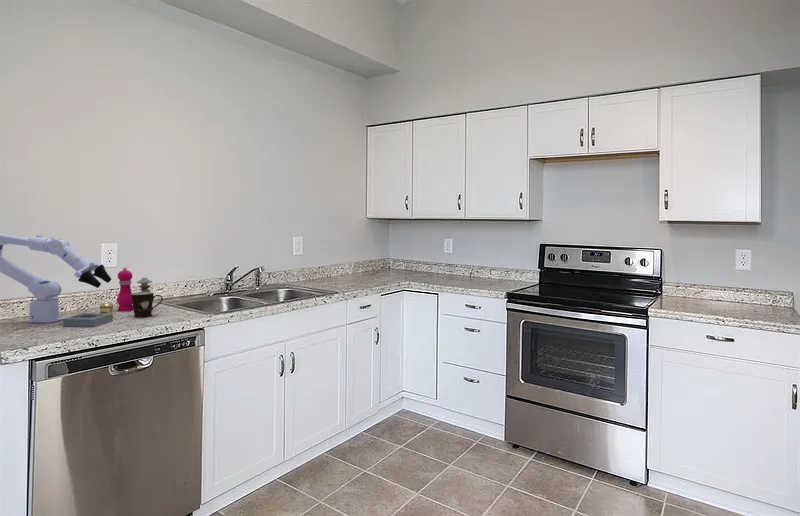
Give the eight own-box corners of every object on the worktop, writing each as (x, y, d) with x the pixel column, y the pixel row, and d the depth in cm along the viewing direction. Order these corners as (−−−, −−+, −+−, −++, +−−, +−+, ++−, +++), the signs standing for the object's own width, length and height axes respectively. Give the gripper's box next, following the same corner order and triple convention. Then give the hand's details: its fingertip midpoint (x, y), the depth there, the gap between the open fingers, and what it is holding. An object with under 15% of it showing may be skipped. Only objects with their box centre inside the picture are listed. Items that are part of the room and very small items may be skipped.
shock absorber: (147, 308, 229) (146, 276, 228) (155, 309, 226) (155, 277, 225) (134, 310, 223) (133, 278, 222) (143, 311, 220) (142, 279, 219)
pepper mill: (130, 307, 230) (129, 265, 228) (137, 309, 225) (136, 267, 224) (114, 309, 224) (113, 266, 223) (120, 311, 220) (119, 267, 218)
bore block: (63, 326, 188) (63, 318, 188) (84, 320, 200) (83, 313, 200) (93, 327, 188) (93, 319, 188) (112, 320, 200) (112, 313, 200)
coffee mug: (129, 318, 206) (128, 294, 205) (134, 314, 214) (134, 292, 213) (159, 317, 209) (158, 294, 208) (163, 313, 217) (163, 291, 216)
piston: (97, 319, 203) (96, 304, 203) (104, 316, 208) (104, 302, 208) (108, 319, 203) (108, 305, 203) (116, 317, 208) (115, 303, 208)
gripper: (71, 258, 191) (100, 281, 193) (93, 251, 205) (119, 272, 207) (61, 271, 192) (90, 293, 194) (83, 262, 206) (109, 283, 208)
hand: (104, 283), depth 201 cm, fingers open, 7 cm apart
